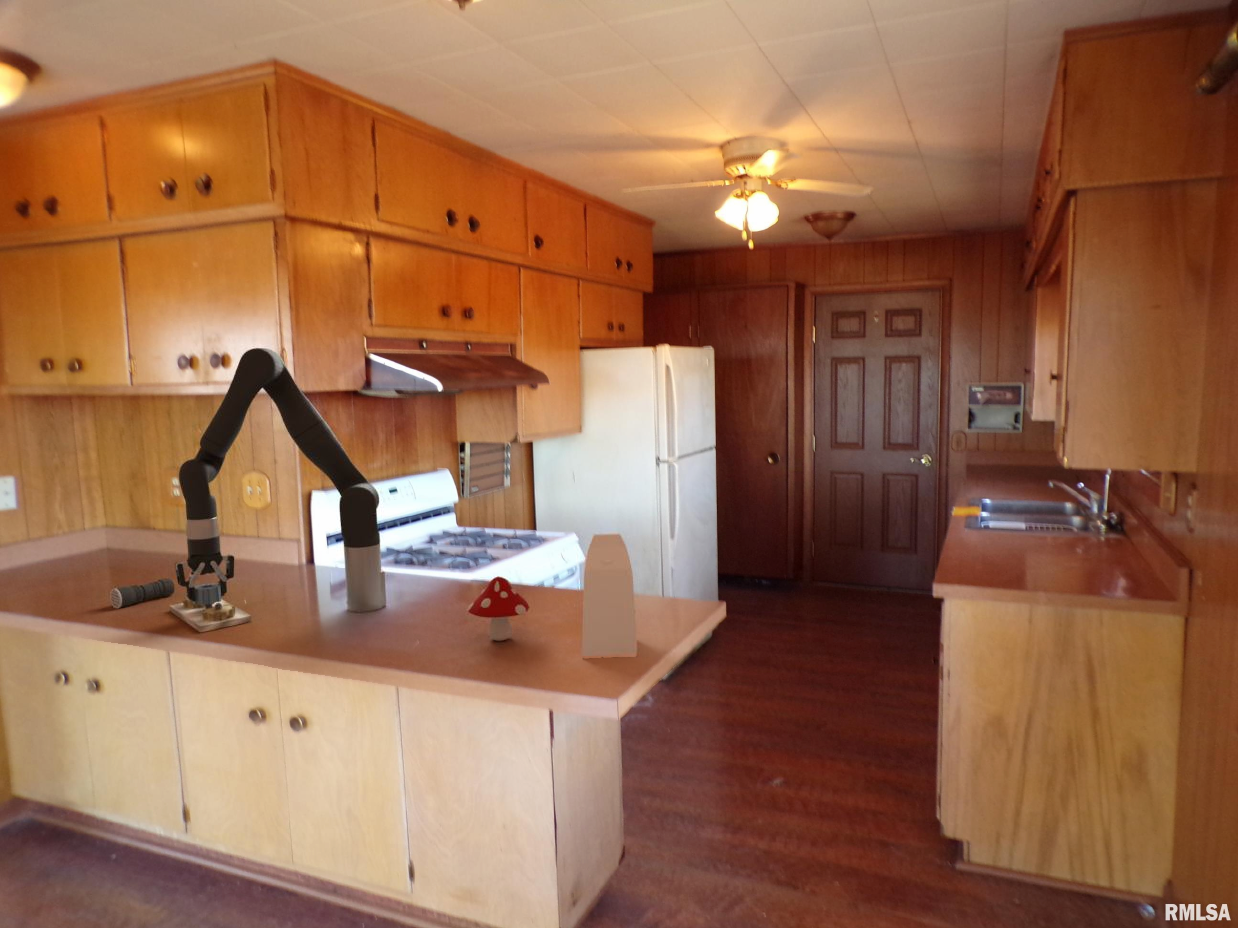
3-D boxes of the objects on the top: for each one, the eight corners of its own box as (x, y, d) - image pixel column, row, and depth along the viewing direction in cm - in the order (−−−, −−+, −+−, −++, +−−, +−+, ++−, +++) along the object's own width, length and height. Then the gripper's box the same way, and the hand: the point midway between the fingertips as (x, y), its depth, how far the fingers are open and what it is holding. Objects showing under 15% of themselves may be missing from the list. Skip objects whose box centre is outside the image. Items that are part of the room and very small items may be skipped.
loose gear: (217, 596, 217) (216, 581, 217) (225, 601, 212) (224, 586, 212) (190, 601, 213) (189, 586, 212) (198, 606, 208) (197, 591, 207)
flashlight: (166, 593, 237) (165, 575, 236) (177, 596, 234) (175, 577, 233) (110, 607, 224) (109, 587, 223) (121, 609, 221) (119, 590, 220)
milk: (634, 639, 188) (632, 528, 185) (637, 657, 177) (635, 539, 174) (582, 641, 188) (579, 530, 185) (581, 658, 177) (579, 540, 174)
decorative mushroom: (543, 638, 191) (541, 575, 189) (497, 653, 180) (495, 587, 179) (504, 626, 200) (502, 566, 198) (458, 640, 190) (455, 577, 188)
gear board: (217, 601, 226) (216, 583, 226) (251, 621, 208) (249, 601, 207) (169, 610, 218) (168, 592, 218) (200, 632, 199) (198, 611, 199)
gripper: (176, 541, 203) (181, 606, 205) (237, 533, 213) (241, 595, 215) (168, 537, 208) (173, 600, 210) (227, 529, 218) (231, 590, 220)
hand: (207, 597), depth 212 cm, fingers closed on loose gear, 6 cm apart
